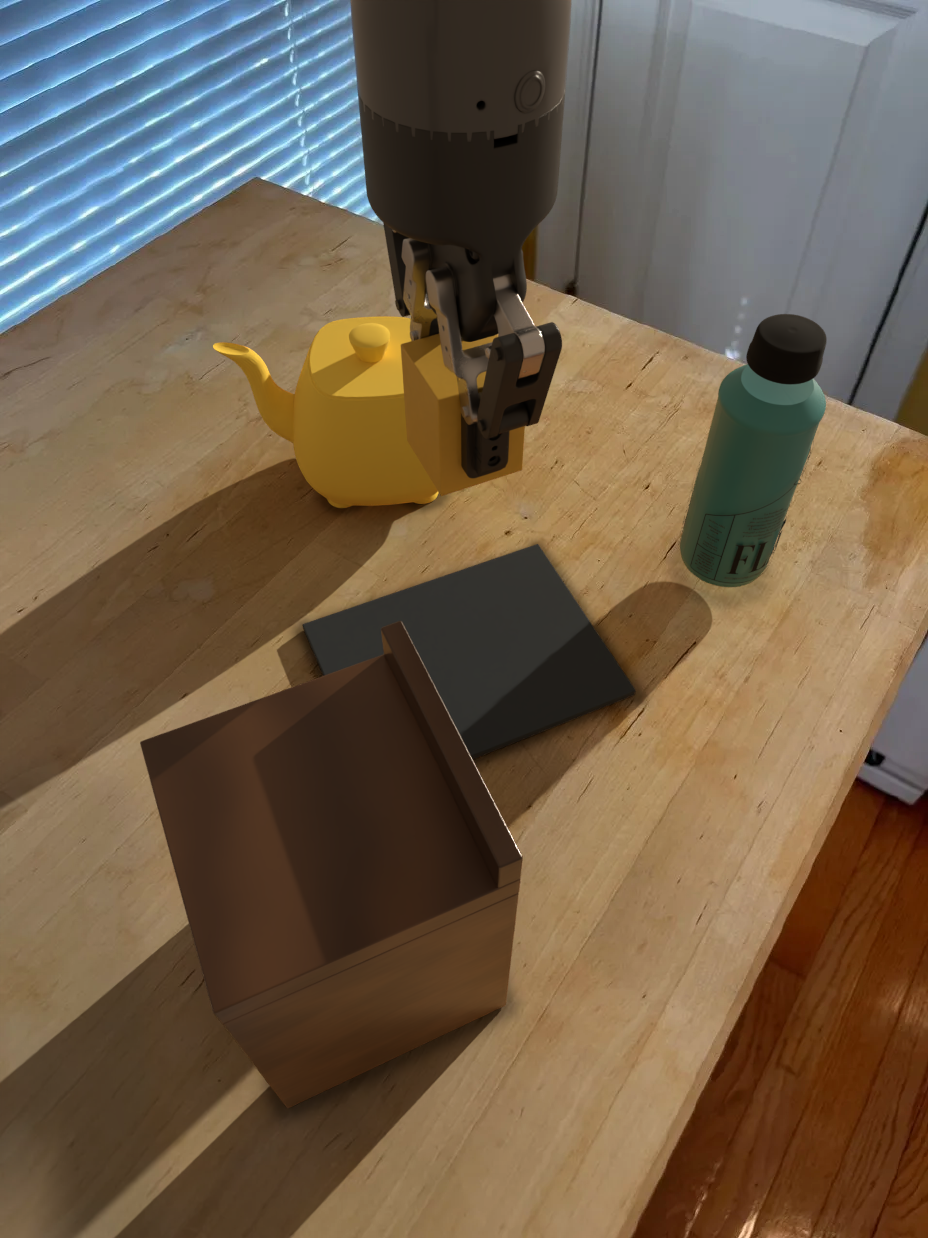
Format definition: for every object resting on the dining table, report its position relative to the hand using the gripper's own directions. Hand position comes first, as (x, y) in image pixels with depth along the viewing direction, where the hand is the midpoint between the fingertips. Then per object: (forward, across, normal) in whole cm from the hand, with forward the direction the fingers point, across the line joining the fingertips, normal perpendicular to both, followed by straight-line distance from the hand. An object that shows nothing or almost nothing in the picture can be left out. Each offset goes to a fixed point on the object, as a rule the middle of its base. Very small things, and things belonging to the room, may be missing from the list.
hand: (463, 436), depth 47 cm
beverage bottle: (+20, 0, +20) cm, 28 cm away
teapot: (+20, -20, +1) cm, 28 cm away
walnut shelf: (+20, +15, -13) cm, 28 cm away
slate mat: (+20, 0, 0) cm, 20 cm away
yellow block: (+1, 0, 0) cm, 1 cm away
